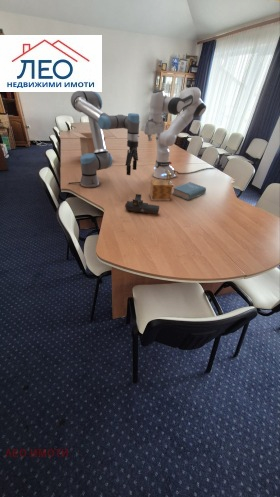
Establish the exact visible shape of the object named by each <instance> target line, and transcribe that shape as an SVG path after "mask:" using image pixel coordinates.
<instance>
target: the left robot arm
mask: <svg viewBox="0 0 280 497" xmlns="http://www.w3.org/2000/svg"><path fill="white" fill-rule="evenodd" d="M70 104H71V106H72V108H73V109H74V110H75V111H76V112H78V113H83V114H84V115H85V116H87V118H88V123H89V128H90V131H91V133H92V138H93V143H94V148H95V151H94V154H93V153H86V154H83V155H81V156H80V160H79V161H80V162H79V163H80V169H81V177H80V181H75V182H68V184H69V185H71V184H80V187H83V188H88V189H89V188H90V189H92V188H97V187H99V186H100V180H99V178H98V175H97V171H102V170H107V169H109V168H111V167H112V165H113V160H114V159H113V156H112V154H111V153H110V152H109V150H108V149H107V148H106V142H105V143H104V138H103V132H104V131H103V130H105V131H109V130H117V129H118V130H119V129H125V130H127V132H126V134H127V135H126V139H127V141H126V147H128V148H129V149H127V152H126V159H125V164H124V165H125V166H126V176H131V170H133V171H137V167H138V166H137V165H138V164H137V162H138V161H139V155H138V148H139V138H140V123H141V122H140V114H139V113H135V112H130V113H127V115H125V114H116V115H110V114H108V113H106V112H105V111H103V110H102V107H103V100H102V97H101V95H100V94H99V93H98V92H97V91H93V90H75V91H74V92H73V93H72V94H71V97H70ZM131 164H132V166H131ZM131 168H132V169H131Z"/></svg>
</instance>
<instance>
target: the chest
mask: <svg viewBox="0 0 280 497" xmlns="http://www.w3.org/2000/svg"><path fill="white" fill-rule="evenodd" d="M172 190H173V187H154V186H153V184H152V182H150V192H149V196H150V199H151V201H169V202H170V201H171V199H172V198H171V197H172V192H173V191H172Z"/></svg>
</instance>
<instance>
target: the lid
mask: <svg viewBox="0 0 280 497" xmlns="http://www.w3.org/2000/svg"><path fill="white" fill-rule="evenodd" d="M168 176H169V179H168ZM170 177H171V174H170V172H169V171H167V179H162V180H161V179H151V182H152V184H153V186H154V187H172V188H174V187H175V185H174V183H173V182H172V181H171V178H170ZM151 182H150V183H151Z"/></svg>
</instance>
